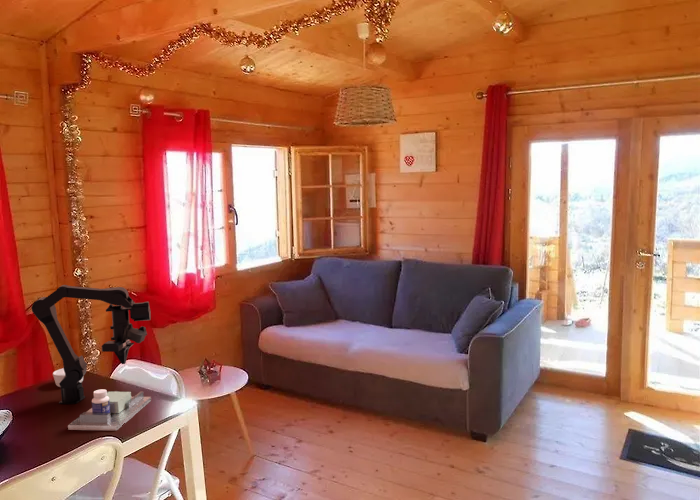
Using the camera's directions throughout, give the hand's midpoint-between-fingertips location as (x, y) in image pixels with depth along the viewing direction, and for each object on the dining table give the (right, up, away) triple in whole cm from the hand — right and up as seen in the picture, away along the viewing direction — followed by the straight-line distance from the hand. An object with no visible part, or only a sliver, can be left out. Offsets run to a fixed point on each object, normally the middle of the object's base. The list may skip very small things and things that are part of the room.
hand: (123, 363), depth 207 cm
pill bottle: (+2, -13, -23) cm, 27 cm away
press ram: (+3, -12, -15) cm, 20 cm away
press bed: (+3, -14, -16) cm, 22 cm away
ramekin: (-28, -11, +16) cm, 34 cm away
